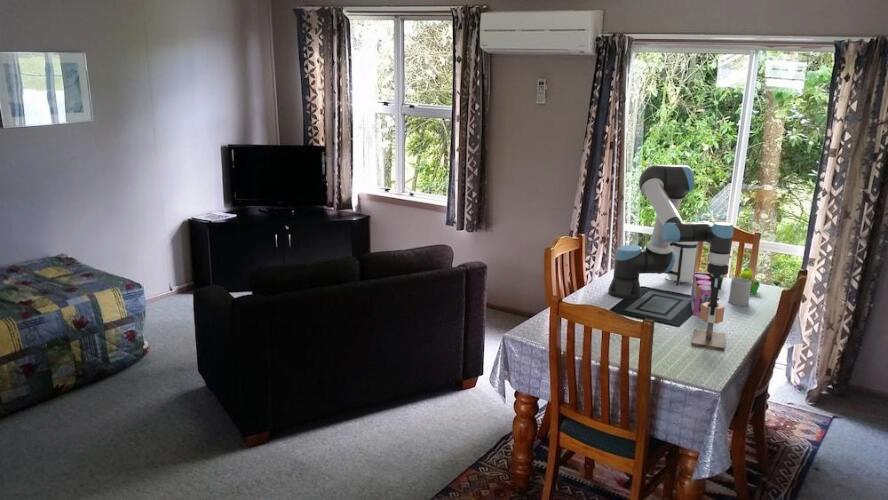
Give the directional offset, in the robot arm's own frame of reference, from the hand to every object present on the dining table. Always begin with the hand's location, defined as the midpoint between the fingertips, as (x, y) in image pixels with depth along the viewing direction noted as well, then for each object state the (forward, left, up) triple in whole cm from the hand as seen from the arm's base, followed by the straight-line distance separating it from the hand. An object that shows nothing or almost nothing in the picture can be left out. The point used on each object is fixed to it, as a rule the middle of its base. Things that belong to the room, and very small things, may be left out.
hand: (711, 319), depth 263 cm
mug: (+11, +57, -9) cm, 59 cm away
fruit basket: (+14, +76, -9) cm, 78 cm away
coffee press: (-17, +76, -9) cm, 79 cm away
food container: (+1, +74, -9) cm, 75 cm away
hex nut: (0, 0, 0) cm, 0 cm away
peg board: (0, 0, -9) cm, 9 cm away
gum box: (-5, +40, -9) cm, 41 cm away
